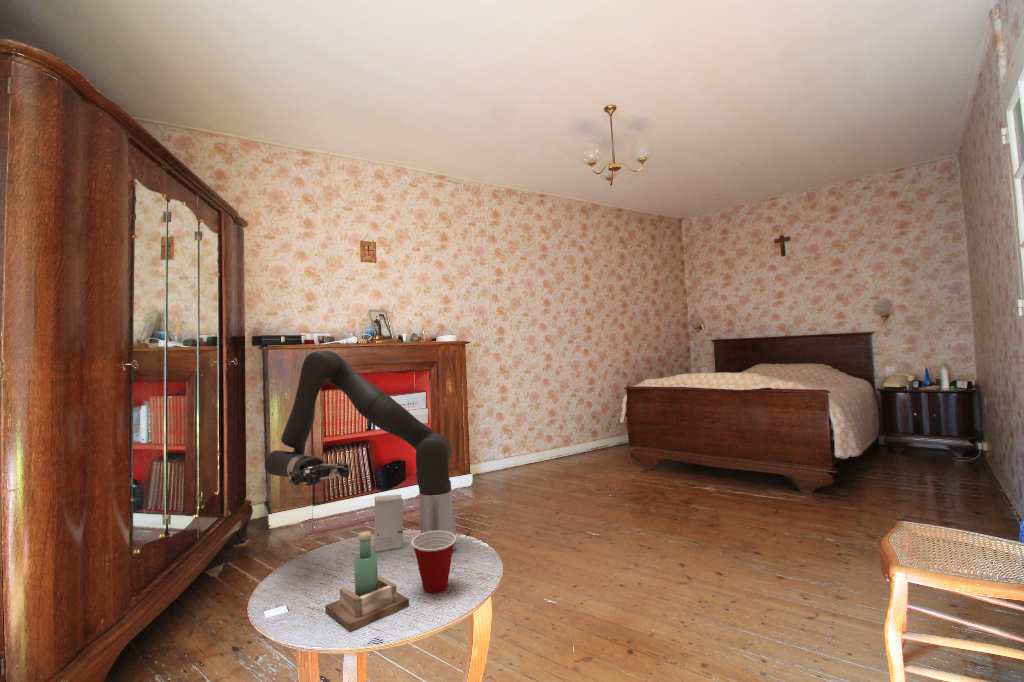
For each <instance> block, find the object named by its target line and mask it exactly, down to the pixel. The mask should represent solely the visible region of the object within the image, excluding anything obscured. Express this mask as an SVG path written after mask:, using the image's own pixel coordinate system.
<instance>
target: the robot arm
mask: <svg viewBox="0 0 1024 682" xmlns="http://www.w3.org/2000/svg"><path fill="white" fill-rule="evenodd" d="M325 382H328V383H329V384H331V385H333V387H335V388H337V389H338V390H340V391H341V392H342V393H343V394H344V395H345V396H346V397H347V398H348V399H349V401H350V402H351V404H352V405H353V407H354V408H355V410H356V411H357V412H358V413H359V414H360V415H361V416H362V417H363V418H365V419H366V420H367V421H368V422H370V423H371V424H372V425H373V426H375V427H377V428H378V429H380V430H382V431H384V432H386V433H389V434H391V435H393V436H395V437H398V438H399V439H401V440H403V441H405V442H406V443H408V444H409V445H410V446H411V447H412V448H413V449H414V450H416V451H415V470H416V472H415V473H416V474H415V475H416V482H417V486H418V490H419V491H418V493H419V496H418V497H419V521H420V522H419V523H420V525H419V526H420V534H421V533H424V532H428V531H438V530H441V531H448V532H451V533H453V534H454V535H455V536H456V537H457V533H456V530H457V529H456V516H455V515H453V504H452V503H453V501H452V481H451V479H450V475H449V459H450V457H451V455H452V445H451V444H450V441H449V440H448V438H446V437H445V436H444V435H442V434H441V433H439V432H437V431H436V430H434V429H433V428H431V427H429V426H427V424H424V423H423V422H421V421H420V420H419V419H417V418H416V417H415V416H414V415H413V414H412V413H411V412H409V411H408V410H407V409H406V408H405V407H403V406H402V405H401V404H400V403H398V402H397V401H396V400H395V399H394V398H392V397H391V396H390V395H388V394H387V393H386V392H384V391H383V390H382V389H381V388H379V387H378V386H376V385H375V384H373V383H372V382H370V381H369V380H368V379H366V378H365V377H364V376H362V375H360V373H358V372H357V371H356V370H355V369H354V368H353V367H352V366H350V364H348V363H347V362H346V360H345V359H343V358H342V357H341V356H340V355H339V354H338V353H336V352H333V351H331V350H317V351H315V350H314V351H312V352H310V353H308V355H306V357H305V359H304V360H303V363H302V366H301V370H300V376H299V380H298V385H297V389H296V393H295V396H294V397H295V398H294V402H293V405H292V408H291V411H290V415H289V416H288V419H287V421H286V424H285V427H284V429H283V433H282V435H281V438H280V439H281V443H282V444H283V445H284V446H287V447H289V448H292V449H293V451H285V450H277V449H276V450H273V451H271V452H270V453H268V455H267V456H266V457H265V460H264V468H265V471H266V472H267V474H269V475H271V476H278V477H286V478H288V483H290V484H292V485H295V486H299V485H301V484H302V485H305V486H314V485H315V486H316V485H317V484H319V483H320V482H321V481H323V480H324V479H334V478H336V477H343V478H349V476H350V464H349V463H342V462H336V463H335V464H334V463H333V464H332V463H330V464H328V463H325V462H324V460H323V459H321V458H320V457H318V456H312V455H309V454H305V450H306V444H307V441H308V438H309V435H310V432H312V431H311V430H312V428H313V424H314V421H315V415H316V413H315V412H316V404H317V398H318V396H319V393H320V391H321V389H322V387H323V385H324V383H325ZM454 549H455V550H457V541H456V542H455V543H454V546H453V551H454Z"/></svg>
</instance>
